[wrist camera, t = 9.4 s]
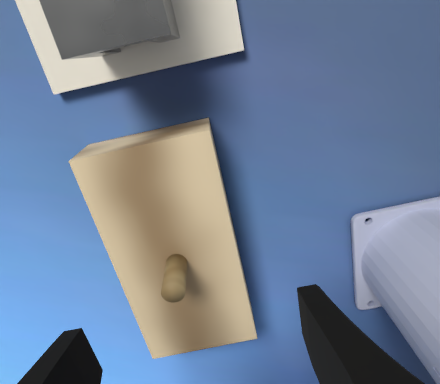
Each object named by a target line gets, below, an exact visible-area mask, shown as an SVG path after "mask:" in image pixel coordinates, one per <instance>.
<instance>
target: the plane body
mask: <svg viewBox="0 0 440 384" xmlns="http://www.w3.org/2000/svg"><path fill="white" fill-rule="evenodd" d="M69 163H70V166H71V168H72V170H73V173H74V175H75V177H76V180H77V182H78V184H79V187H80V189H81V191H82V194H83V196H84V198H85V201H86V203H87V205H88V208H89V210H90V213H91V215H92V217H93V220H94V222H95V224H96V227H97V229H98V231H99V234H100V236H101V238H102V241H103V243H104V245H105V248H106V250H107V252H108V255H109V257H110V259H111V262H112V264H113V266H114V269H115V271H116V273H117V276H118V278H119V280H120V283H121V285H122V287H123V290H124V292H125V295H126V297H127V299H128V302H129V304H130V306H131V309H132V311H133V313H134V316H135V318H136V320H137V323H138V325H139V327H140V330H141V332H142V334H143V337H144V339H145V341H146V344H147V346H148V348H149V351H150V353H151V355H152V358H153V359H155V358H160V357H165V356H170V355H176V354H181V353H186V352H191V351H196V350H201V349H206V348H212V347H217V346H222V345H227V344H232V343H237V342H242V341H247V340H253V339H257V334H256V328H255V323H254V318H253V312H252V307H251V302H250V298H249V294H248V289H247V285H246V280H245V276H244V271H243V267H242V263H241V258H240V254H239V249H238V245H237V240H236V236H235V232H234V227H233V223H232V218H231V214H230V210H229V205H228V201H227V196H226V192H225V187H224V183H223V179H222V174H221V170H220V165H219V161H218V156H217V152H216V148H215V143H214V139H213V134H212V130H211V125H210V121H209V118H205V119H200V120H196V121H191V122H187V123H182V124H178V125H173V126H169V127H165V128H160V129H156V130H151V131H147V132H142V133H138V134H133V135H129V136H124V137H120V138H116V139H111V140H107V141H102V142H98V143H93V144H89V145H87V146H86V147H85V148H84V149H83V150H82V151H80V152H79V153H78V154H77V155H76V156H74V157H73V158H72V159H71V160H70V161H69Z"/></svg>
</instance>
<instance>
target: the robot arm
mask: <svg viewBox="0 0 440 384" xmlns="http://www.w3.org/2000/svg"><path fill="white" fill-rule="evenodd" d="M367 218H370V219H369V220H368V221H367V222H365V220H366V219H367ZM351 237H352V255H353V274H354V293H355V304H356V306H357V308H358V309H360V310H365V309H371V308H376V307H381V306H383V308H384V309H385V310H386V312H387V313H388V315H389V316H390V318H391V319H392V321H393V322H394V323H395V325H396V326H397V328H398V329H399V331H400V332H401V333H402V335H403V336H404V338H405V339H406V341H407V342H408V343H409V345H410V346H411V348H412V349H413V351H414V352H415V354H416V355H417V356H418V358H419V359H420V361H421V362H422V364H423V365H424V366H425V368H426V369H427V371H428V372H429V374H430V375H431V377H432V378H433V379H434V381H435V382H436V384H440V197H435V198H430V199H426V200H421V201H416V202H411V203H406V204H402V205H397V206H392V207H387V208H382V209H378V210H373V211H368V212H363V213H358V214H356V215H354V216H353V217H352V219H351ZM297 292H298V301H299V309H300V318H301V326H302V334H303V337H304V340H305V344H306V347H307V350H308V353H309V357H310V360H311V363H312V366H313V368H314V371H315V373H316V376H317V378H318V380H319V383H320V384H424V383H423V382H422V381H420V380H419V379H418V378H417V377H415V376H414V375H413V374H411V373H410V372H409V371H407V370H406V369H405V368H404V367H402V366H401V365H400V364H399V363H398V362H396V361H395V360H394V359H393V358H391V357H390V356H389V355H388V354H387V353H386V352H384V351H383V350H382V349H381V348H380V347H379V346H378V345H376V344H375V343H374V342H373V341H372V340H371V339H370V338H369V337H368V336H366V335H365V334H364V333H363V332H362V331H361V330H360V329H359V328H358V327H357V326H356V325H355V324H354V323H353V322H352V321H351V320H350V319H349V318H348V317H347V316H346V315H345V314H344V313H343V312H342V311H341V310H340V309H339V308H338V307H337V306H336V305H335V304H334V303H333V302H332V301H331V300H330V299H329V297H328V296H327V295H326V294H325V293H324V292H323V291H322V289H321V288H320V287H319V286H317V285H316V284H315V285H309V286H304V287H299V288H297ZM369 301H371V302H369ZM368 302H369V303H368ZM101 377H102V368H101V366H100V364H99V362H98V360H97V358H96V356H95V354H94V352H93V350H92V348H91V346H90V344H89V342H88V340H87V338H86V336H85V334H84V332H83V330H82V328H80V329H74V330H69V331H64V332H63V333H62V334H61V335H60V336H59V337H58V338H57V339H56V340H55V342H54V343H53V344H52V345H51V346H50V347H49V348H48V349H47V351H46V352H45V353H44V354H43V355H42V356H41V357H40V359H39V360H38V361H37V362H36V363H35V364H34V365H33V367H32V368H31V369H30V370H29V371H28V372H27V373H26V374H25V376H24V377H23V378H22V379H21V380H20V381H19V382H18V383H17V384H100V383H101Z"/></svg>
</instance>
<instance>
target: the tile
mask: <svg viewBox="0 0 440 384" xmlns="http://www.w3.org/2000/svg"><path fill="white" fill-rule="evenodd" d="M15 1H16V3H17V6H18V8H19V11H20V13H21V16H22V18H23V21H24V23H25V25H26V28H27V30H28V33H29V35H30V38H31V40H32V42H33V45H34V47H35V50H36V52H37V55H38V57H39V60H40V62H41V64H42V67H43V69H44V72H45V74H46V77H47V79H48V82H49V84H50V86H51V89H52V91H53V94H58V93H62V92H67V91H71V90H75V89H80V88H84V87H88V86H92V85H97V84H101V83H105V82H110V81H114V80H118V79H123V78H127V77H131V76H135V75H140V74H144V73H148V72H153V71H157V70H161V69H166V68H170V67H174V66H179V65H183V64H187V63H191V62H196V61H200V60H204V59H209V58H213V57H217V56H222V55H226V54H230V53H234V52H239V51H243V50H244V46H243V40H242V34H241V28H240V22H239V16H238V10H237V4H236V0H171V1H172V6H173V10H174V14H175V18H176V22H177V27H178V31H179V35H180V38H179V39H174V40H170V41H166V42H162V43H158V42H151V41H146V42H142V43H138V44H134V45H129V46H125V47H121V48H120V49H121V52H119V53H115V54H110V55H106V56H102V57H89V58H77V59H65V60H62V59H61V56H60V53H59V51H58V48H57V46H56V43H55V40H54V38H53V35H52V33H51V30H50V27H49V25H48V22H47V19H46V17H45V14H44V12H43V9H42V6H41V4H40V1H39V0H15Z"/></svg>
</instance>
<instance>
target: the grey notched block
mask: <svg viewBox="0 0 440 384" xmlns="http://www.w3.org/2000/svg"><path fill="white" fill-rule="evenodd" d="M39 1H40V4H41V6H42V9H43V12H44V14H45V17H46V19H47V22H48V25H49V27H50V30H51V33H52V35H53V38H54V40H55V43H56V46H57V48H58V51H59V53H60V56H61V59H62V60H65V59H77V58H89V57H102V56H106V55H110V54H115V53H119V52H121V49H120V48H121V47H125V46H129V45H134V44H138V43H142V42H146V41H151V42H158V43H162V42H166V41H170V40H174V39H179V38H180V35H179V31H178V27H177V22H176V18H175V14H174V10H173V6H172V1H171V0H39Z"/></svg>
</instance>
